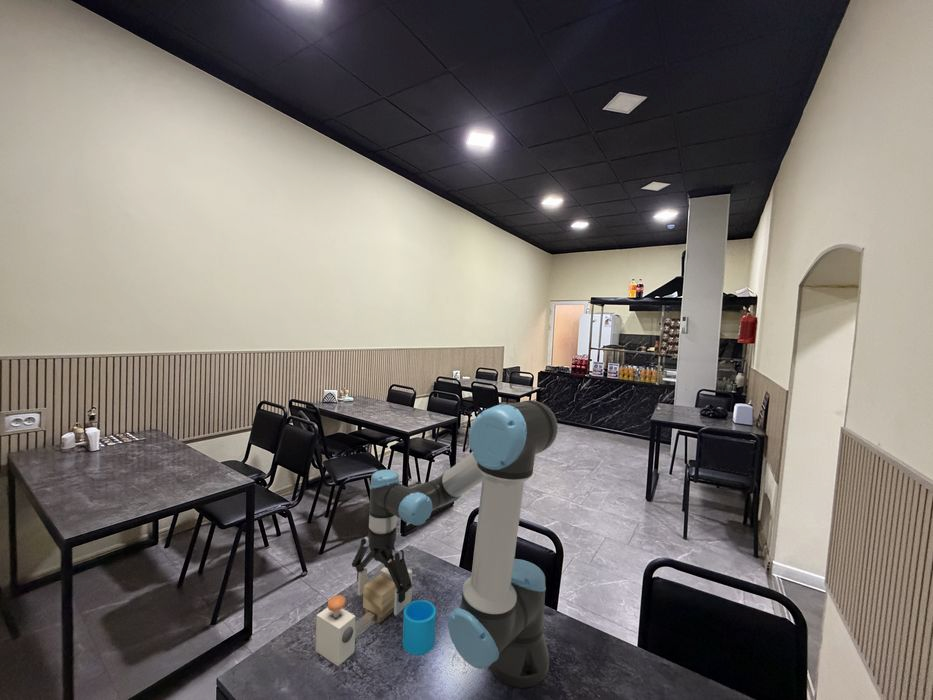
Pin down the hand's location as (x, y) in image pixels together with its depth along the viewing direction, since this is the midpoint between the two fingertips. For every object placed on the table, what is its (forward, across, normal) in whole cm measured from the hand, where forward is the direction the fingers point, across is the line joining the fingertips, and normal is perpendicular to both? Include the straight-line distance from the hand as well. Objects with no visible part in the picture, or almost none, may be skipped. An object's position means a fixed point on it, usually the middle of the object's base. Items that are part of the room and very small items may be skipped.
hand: (379, 602), depth 107 cm
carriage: (+3, 0, 0) cm, 3 cm away
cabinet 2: (+3, 0, -6) cm, 7 cm away
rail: (+3, 0, +4) cm, 6 cm away
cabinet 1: (+3, 0, +16) cm, 16 cm away
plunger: (-4, 0, +15) cm, 16 cm away
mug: (+3, -15, 0) cm, 15 cm away
